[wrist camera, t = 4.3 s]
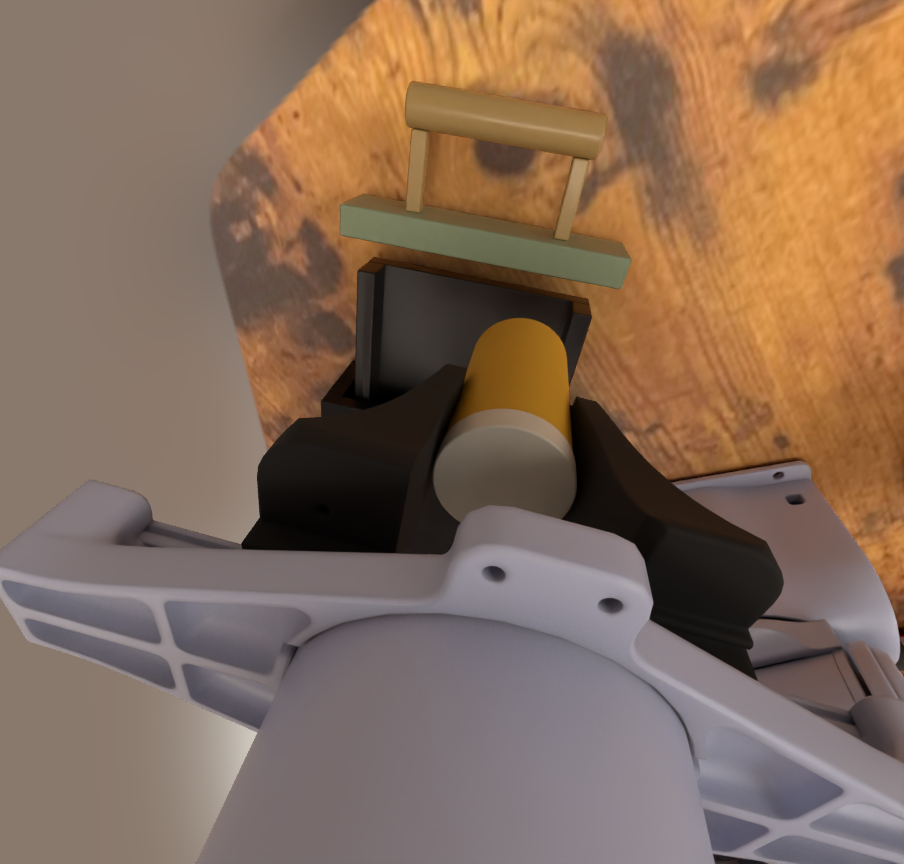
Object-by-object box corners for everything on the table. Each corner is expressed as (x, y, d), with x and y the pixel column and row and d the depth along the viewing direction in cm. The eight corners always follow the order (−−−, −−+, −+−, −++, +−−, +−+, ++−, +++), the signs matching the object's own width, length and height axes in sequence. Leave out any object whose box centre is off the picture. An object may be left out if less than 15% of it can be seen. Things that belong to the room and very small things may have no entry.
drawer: (365, 73, 18) (339, 67, 16) (662, 124, 17) (680, 125, 15) (356, 425, 28) (339, 453, 25) (547, 467, 27) (546, 500, 25)
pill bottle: (556, 303, 16) (559, 412, 10) (577, 393, 17) (589, 530, 12) (458, 329, 17) (410, 440, 11) (486, 411, 18) (457, 544, 13)
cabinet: (353, 359, 26) (320, 400, 22) (575, 406, 25) (580, 457, 22) (349, 526, 34) (325, 577, 30) (520, 566, 33) (516, 623, 30)
